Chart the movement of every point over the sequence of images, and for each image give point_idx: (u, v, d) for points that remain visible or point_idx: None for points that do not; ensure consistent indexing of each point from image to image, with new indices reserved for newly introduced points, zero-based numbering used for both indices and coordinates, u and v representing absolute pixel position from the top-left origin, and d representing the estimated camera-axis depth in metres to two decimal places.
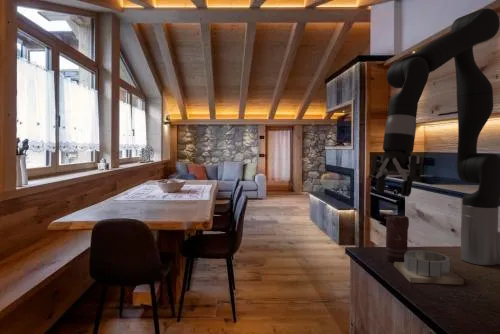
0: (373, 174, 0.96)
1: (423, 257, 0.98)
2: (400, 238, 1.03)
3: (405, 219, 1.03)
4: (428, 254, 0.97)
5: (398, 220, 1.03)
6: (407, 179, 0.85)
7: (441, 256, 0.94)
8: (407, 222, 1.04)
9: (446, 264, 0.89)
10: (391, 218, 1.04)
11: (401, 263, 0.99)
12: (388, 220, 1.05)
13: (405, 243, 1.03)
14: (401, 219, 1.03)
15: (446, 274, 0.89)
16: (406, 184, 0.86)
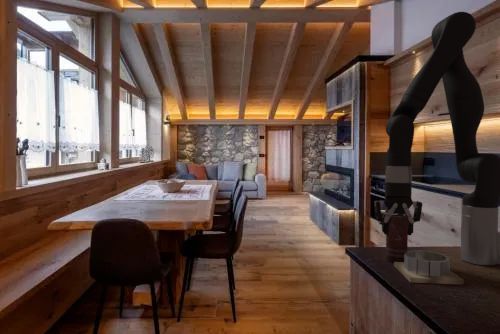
0: (380, 219, 1.05)
1: (423, 257, 0.98)
2: (400, 238, 1.03)
3: (405, 219, 1.03)
4: (428, 254, 0.97)
5: (398, 220, 1.03)
6: None
7: (441, 256, 0.94)
8: (407, 222, 1.04)
9: (446, 264, 0.89)
10: (391, 218, 1.04)
11: (401, 263, 0.99)
12: (388, 220, 1.05)
13: (405, 243, 1.03)
14: (401, 219, 1.03)
15: (446, 274, 0.89)
16: (412, 225, 1.04)
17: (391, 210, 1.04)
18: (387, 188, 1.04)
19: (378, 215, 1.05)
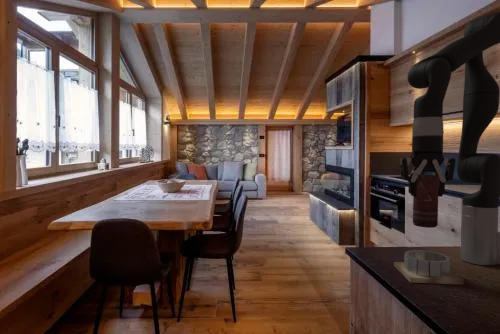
0: (407, 178, 0.93)
1: (423, 257, 0.98)
2: (430, 199, 0.91)
3: (436, 177, 0.91)
4: (428, 254, 0.97)
5: (428, 178, 0.91)
6: None
7: (441, 256, 0.94)
8: (438, 181, 0.91)
9: (446, 264, 0.89)
10: (420, 177, 0.92)
11: (401, 263, 0.99)
12: (416, 179, 0.93)
13: (436, 205, 0.91)
14: (431, 177, 0.91)
15: (446, 274, 0.89)
16: (443, 185, 0.92)
17: (420, 167, 0.92)
18: (415, 143, 0.92)
19: (405, 174, 0.93)
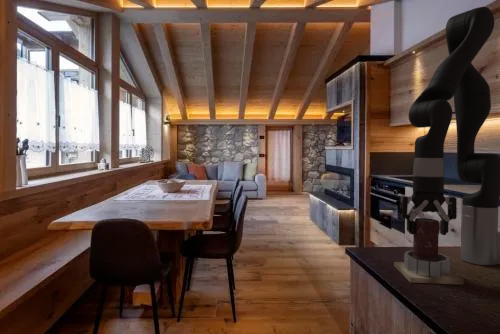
0: (405, 216, 0.93)
1: None
2: (430, 245, 0.90)
3: (436, 223, 0.91)
4: None
5: (428, 224, 0.90)
6: (448, 219, 0.92)
7: (441, 256, 0.94)
8: (438, 227, 0.91)
9: (446, 264, 0.89)
10: (420, 222, 0.92)
11: (401, 263, 0.99)
12: (416, 224, 0.93)
13: (436, 251, 0.91)
14: (431, 223, 0.90)
15: (446, 274, 0.89)
16: (446, 224, 0.92)
17: (420, 207, 0.92)
18: (416, 183, 0.92)
19: (403, 212, 0.93)
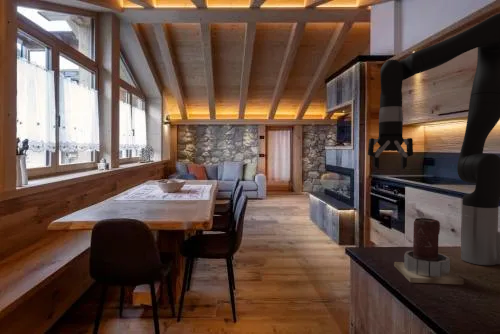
0: (371, 154, 1.16)
1: None
2: (430, 245, 0.90)
3: (436, 223, 0.91)
4: None
5: (428, 225, 0.90)
6: (407, 156, 1.15)
7: (441, 256, 0.94)
8: (438, 227, 0.91)
9: (446, 264, 0.89)
10: (420, 222, 0.92)
11: (401, 263, 0.99)
12: (416, 224, 0.93)
13: (436, 251, 0.91)
14: (432, 223, 0.90)
15: (446, 274, 0.89)
16: (405, 160, 1.16)
17: (383, 146, 1.15)
18: (380, 127, 1.15)
19: (370, 150, 1.16)
